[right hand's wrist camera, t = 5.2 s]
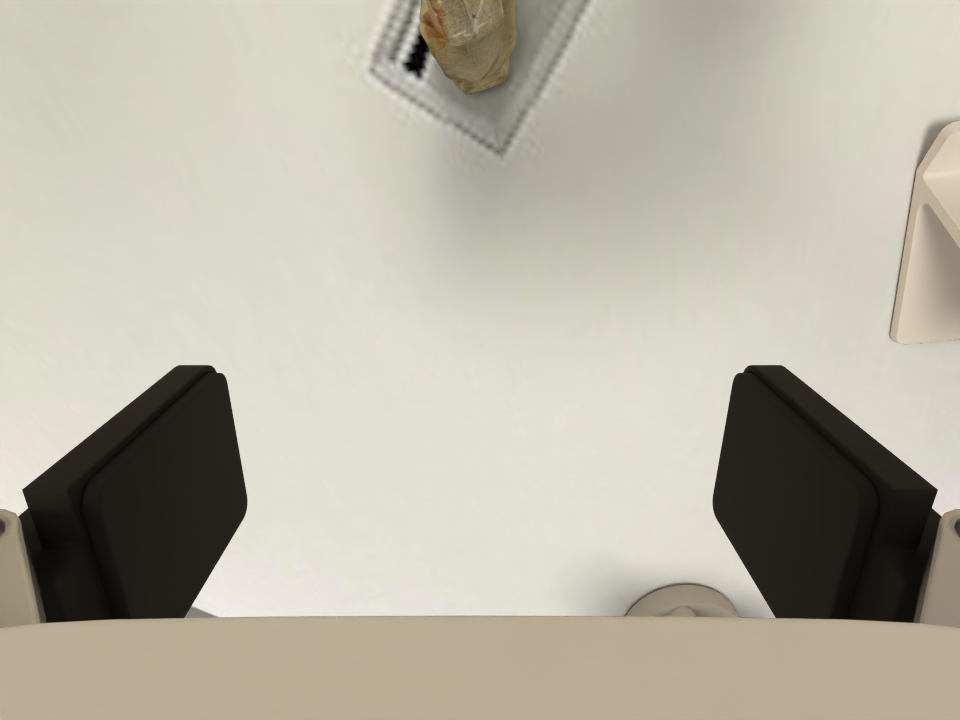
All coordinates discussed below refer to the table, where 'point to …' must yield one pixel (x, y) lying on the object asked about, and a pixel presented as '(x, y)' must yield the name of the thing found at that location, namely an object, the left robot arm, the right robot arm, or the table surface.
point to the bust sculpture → (684, 603)
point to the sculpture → (471, 39)
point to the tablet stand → (932, 249)
